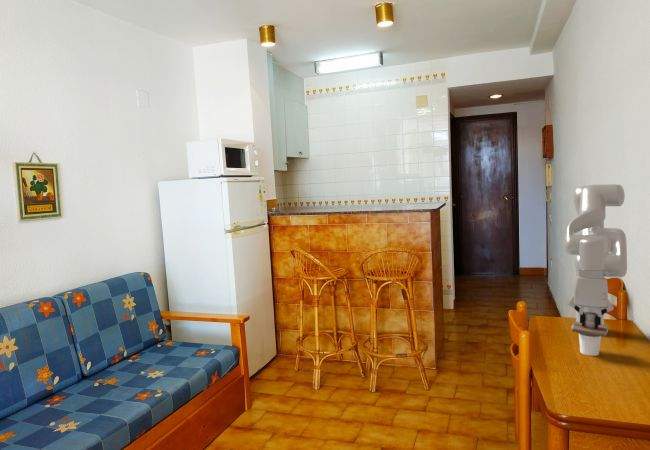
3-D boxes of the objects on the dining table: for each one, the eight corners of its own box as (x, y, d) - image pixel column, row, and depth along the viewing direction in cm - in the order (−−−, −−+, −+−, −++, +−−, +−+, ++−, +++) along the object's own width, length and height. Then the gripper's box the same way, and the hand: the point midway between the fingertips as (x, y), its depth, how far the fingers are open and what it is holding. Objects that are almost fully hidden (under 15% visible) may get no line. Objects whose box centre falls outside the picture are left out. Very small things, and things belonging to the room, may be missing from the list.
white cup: (604, 356, 155) (604, 336, 154) (582, 356, 156) (582, 336, 155) (596, 349, 161) (596, 330, 161) (575, 348, 163) (575, 329, 162)
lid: (574, 323, 165) (574, 307, 164) (607, 327, 160) (607, 311, 159) (572, 331, 156) (572, 315, 156) (606, 335, 151) (607, 318, 151)
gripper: (619, 273, 155) (618, 326, 157) (565, 270, 164) (564, 320, 165) (620, 278, 149) (618, 332, 150) (563, 274, 158) (562, 325, 159)
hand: (590, 325), depth 158 cm, fingers closed on lid, 3 cm apart
